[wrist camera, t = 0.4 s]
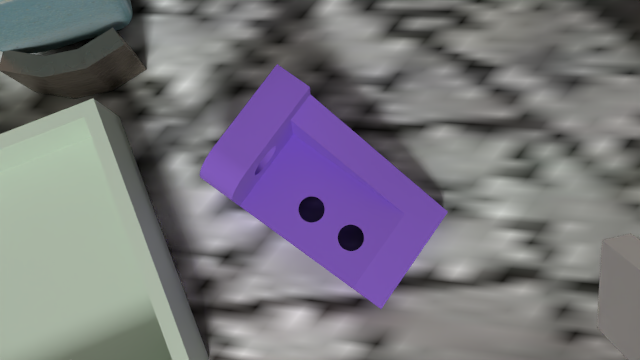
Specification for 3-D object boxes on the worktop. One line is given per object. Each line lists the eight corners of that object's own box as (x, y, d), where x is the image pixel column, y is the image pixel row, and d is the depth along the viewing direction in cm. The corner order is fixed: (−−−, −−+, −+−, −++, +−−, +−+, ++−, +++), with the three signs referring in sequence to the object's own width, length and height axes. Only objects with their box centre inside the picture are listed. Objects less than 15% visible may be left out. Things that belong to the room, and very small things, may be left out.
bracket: (218, 190, 33) (193, 172, 26) (284, 102, 34) (277, 64, 27) (377, 306, 32) (395, 319, 25) (441, 213, 33) (474, 202, 26)
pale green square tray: (209, 358, 31) (194, 372, 27) (-51, 468, 30) (-105, 500, 26) (119, 117, 33) (93, 98, 29) (-127, 212, 32) (-189, 206, 28)
